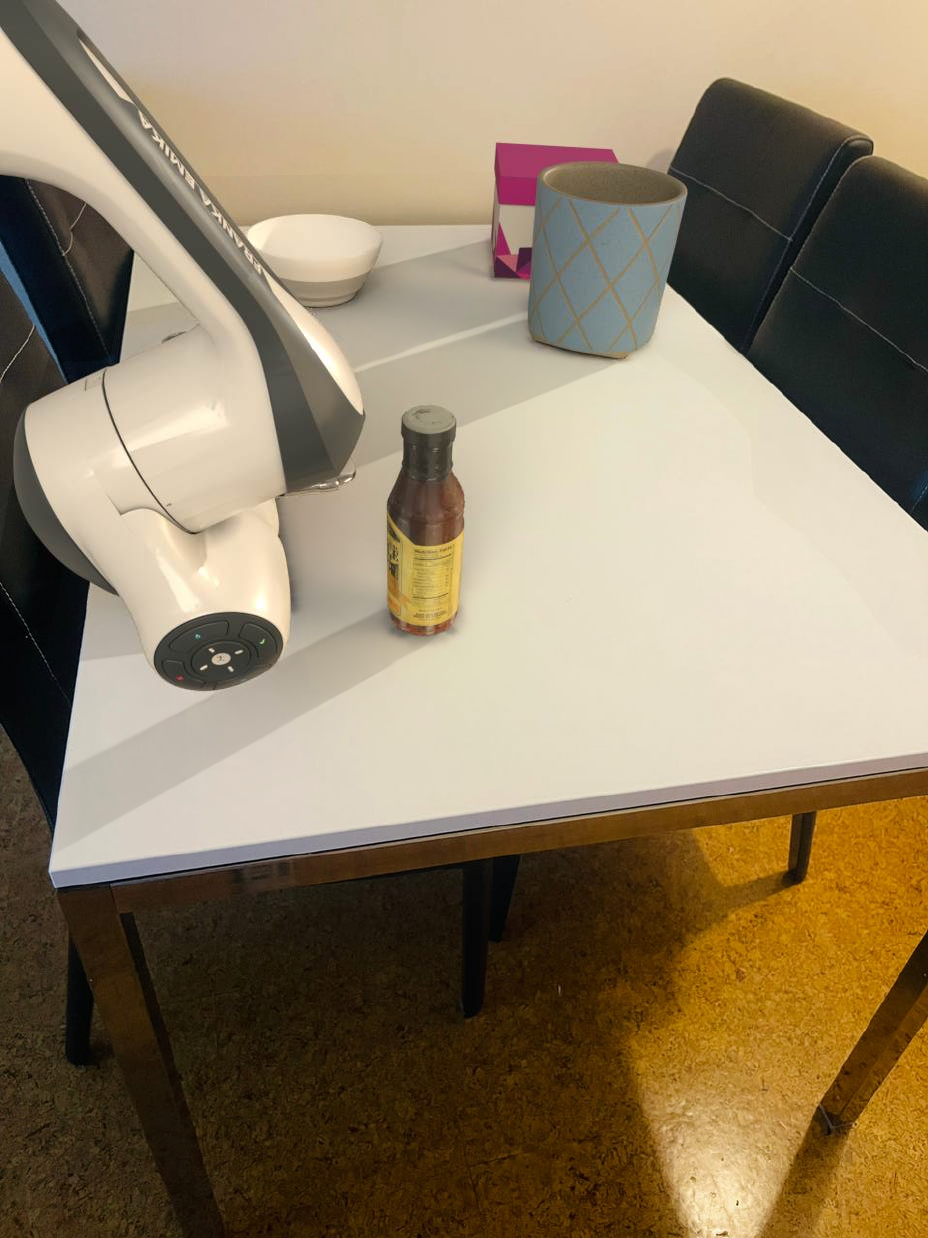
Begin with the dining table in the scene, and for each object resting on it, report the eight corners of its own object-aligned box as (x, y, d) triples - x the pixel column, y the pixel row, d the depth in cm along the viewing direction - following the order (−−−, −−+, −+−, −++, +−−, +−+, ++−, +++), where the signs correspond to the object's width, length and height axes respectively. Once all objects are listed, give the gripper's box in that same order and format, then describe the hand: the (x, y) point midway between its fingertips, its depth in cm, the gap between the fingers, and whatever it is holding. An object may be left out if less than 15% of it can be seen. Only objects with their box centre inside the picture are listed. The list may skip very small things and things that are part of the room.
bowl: (279, 329, 121) (274, 268, 116) (231, 279, 133) (224, 222, 128) (406, 307, 129) (407, 249, 124) (350, 262, 141) (348, 207, 136)
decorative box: (492, 278, 140) (500, 175, 130) (489, 237, 154) (496, 142, 144) (612, 284, 140) (629, 182, 130) (597, 243, 155) (612, 148, 145)
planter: (639, 374, 117) (670, 215, 104) (503, 344, 121) (517, 188, 108) (669, 322, 130) (700, 175, 117) (545, 297, 135) (562, 152, 122)
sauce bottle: (394, 589, 81) (395, 388, 68) (462, 598, 80) (477, 398, 67) (379, 637, 76) (377, 430, 63) (452, 647, 75) (465, 441, 62)
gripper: (359, 445, 60) (330, 357, 70) (35, 473, 56) (53, 375, 66) (361, 522, 64) (333, 428, 74) (60, 554, 60) (73, 450, 70)
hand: (199, 403), depth 70 cm, fingers closed on soda can, 5 cm apart
